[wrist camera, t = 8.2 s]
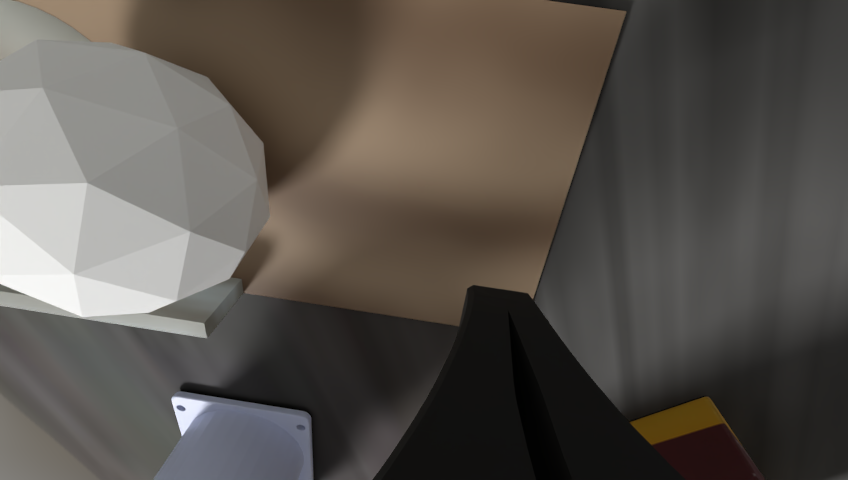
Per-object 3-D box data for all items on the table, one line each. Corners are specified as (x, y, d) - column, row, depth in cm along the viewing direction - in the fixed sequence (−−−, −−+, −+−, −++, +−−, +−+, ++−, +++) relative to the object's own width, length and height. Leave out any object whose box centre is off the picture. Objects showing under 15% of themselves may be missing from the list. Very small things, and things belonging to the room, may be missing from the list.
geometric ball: (270, 169, 18) (232, 348, 15) (47, 106, 15) (-63, 321, 12) (316, 53, 12) (268, 311, 9) (-47, -103, 9) (-331, 232, 6)
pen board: (520, 331, 19) (530, 389, 16) (-15, 248, 19) (-100, 289, 16) (623, 11, 12) (671, 10, 9) (-193, -101, 13) (-386, -134, 10)
